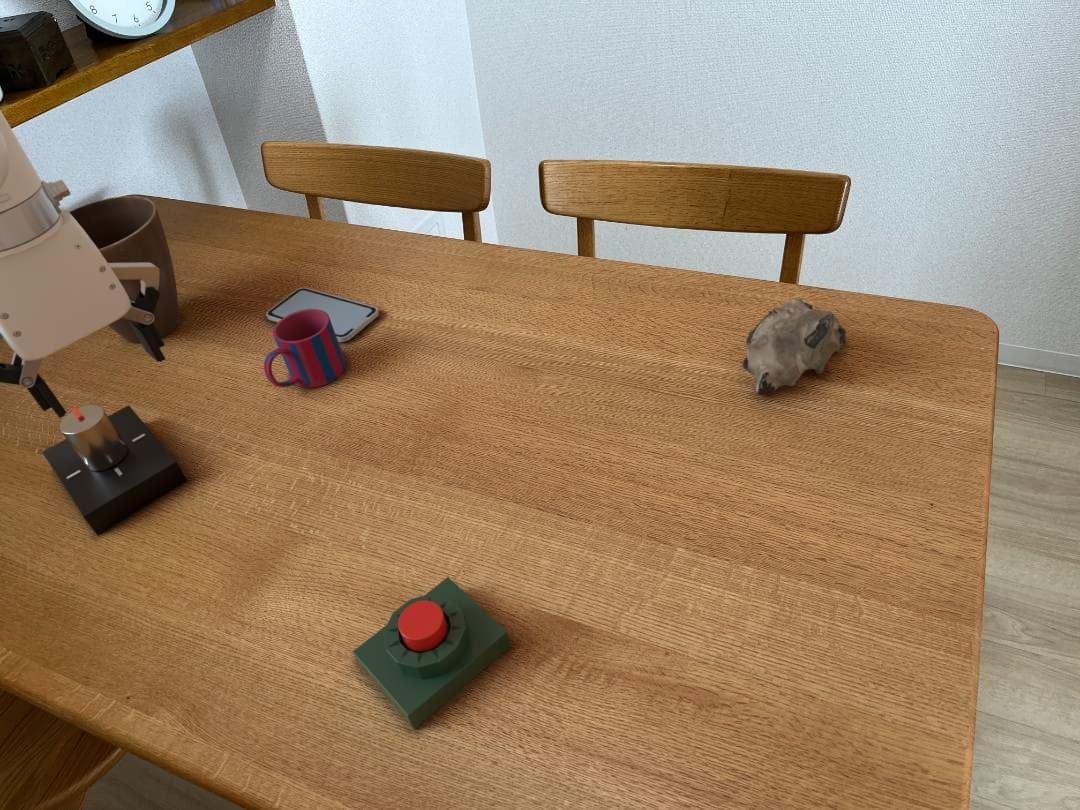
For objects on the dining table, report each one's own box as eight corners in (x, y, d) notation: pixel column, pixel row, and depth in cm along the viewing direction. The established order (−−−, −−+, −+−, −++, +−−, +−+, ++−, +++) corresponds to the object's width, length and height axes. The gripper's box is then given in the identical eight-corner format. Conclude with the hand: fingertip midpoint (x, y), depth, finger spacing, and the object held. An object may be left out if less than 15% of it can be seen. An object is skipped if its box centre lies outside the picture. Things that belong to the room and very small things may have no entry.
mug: (357, 363, 99) (341, 318, 94) (294, 411, 93) (273, 365, 89) (322, 347, 102) (304, 302, 98) (259, 392, 97) (238, 347, 92)
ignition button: (420, 660, 63) (415, 648, 61) (394, 632, 65) (389, 620, 64) (456, 630, 64) (452, 618, 63) (430, 604, 66) (425, 592, 65)
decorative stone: (770, 309, 95) (796, 242, 87) (845, 340, 92) (879, 274, 84) (718, 396, 86) (743, 330, 78) (800, 434, 83) (834, 370, 75)
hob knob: (134, 454, 86) (108, 414, 83) (94, 477, 85) (65, 437, 81) (119, 436, 89) (93, 396, 85) (80, 457, 87) (52, 418, 83)
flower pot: (184, 357, 105) (127, 249, 94) (76, 367, 106) (8, 262, 95) (220, 292, 116) (173, 190, 105) (122, 302, 117) (66, 202, 107)
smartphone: (301, 286, 113) (381, 308, 105) (303, 291, 113) (382, 313, 106) (262, 314, 108) (343, 339, 101) (264, 319, 109) (345, 345, 102)
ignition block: (414, 730, 62) (402, 704, 60) (359, 665, 67) (345, 639, 64) (511, 646, 67) (503, 618, 64) (452, 591, 72) (443, 563, 69)
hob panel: (188, 480, 87) (175, 460, 85) (97, 535, 82) (82, 515, 80) (140, 423, 95) (127, 403, 93) (55, 470, 91) (40, 450, 89)
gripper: (92, 165, 70) (175, 323, 82) (-123, 254, 62) (3, 416, 74) (126, 186, 66) (209, 350, 77) (-100, 285, 58) (30, 452, 69)
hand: (108, 382), depth 76 cm, fingers open, 9 cm apart
